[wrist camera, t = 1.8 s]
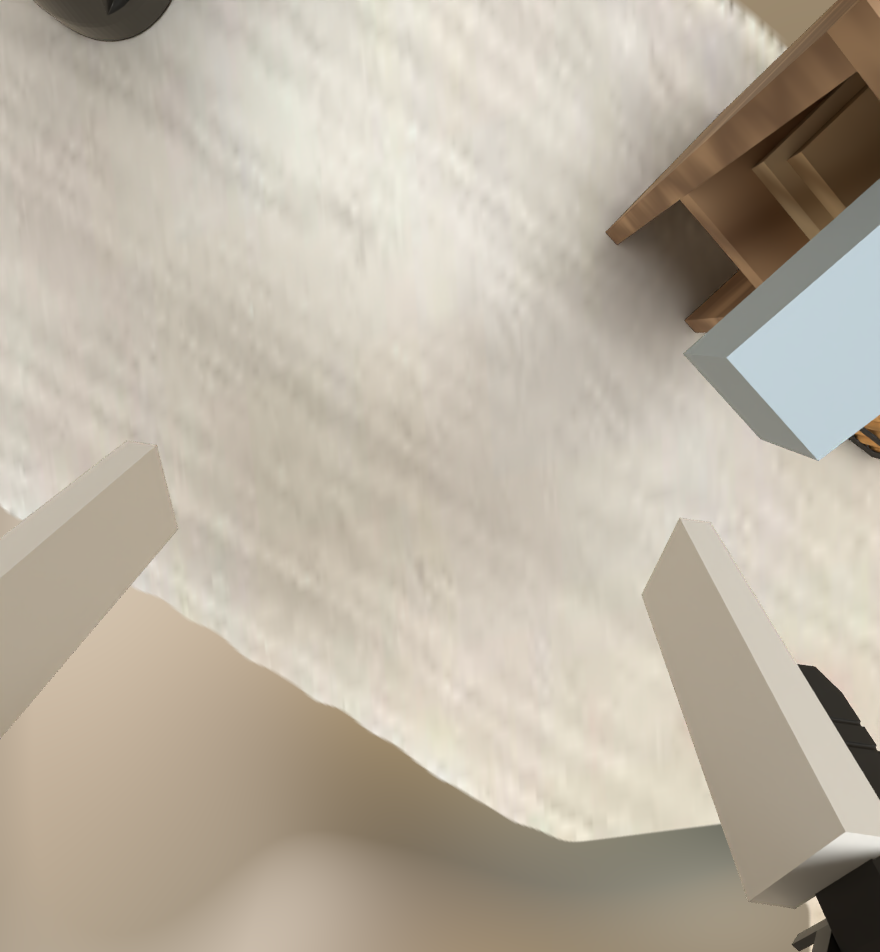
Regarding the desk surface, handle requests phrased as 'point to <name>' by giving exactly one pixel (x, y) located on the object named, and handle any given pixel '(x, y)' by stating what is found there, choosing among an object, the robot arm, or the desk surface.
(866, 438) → the ammunition clip
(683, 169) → the rack
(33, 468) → the desk surface
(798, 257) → the batten
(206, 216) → the desk surface
